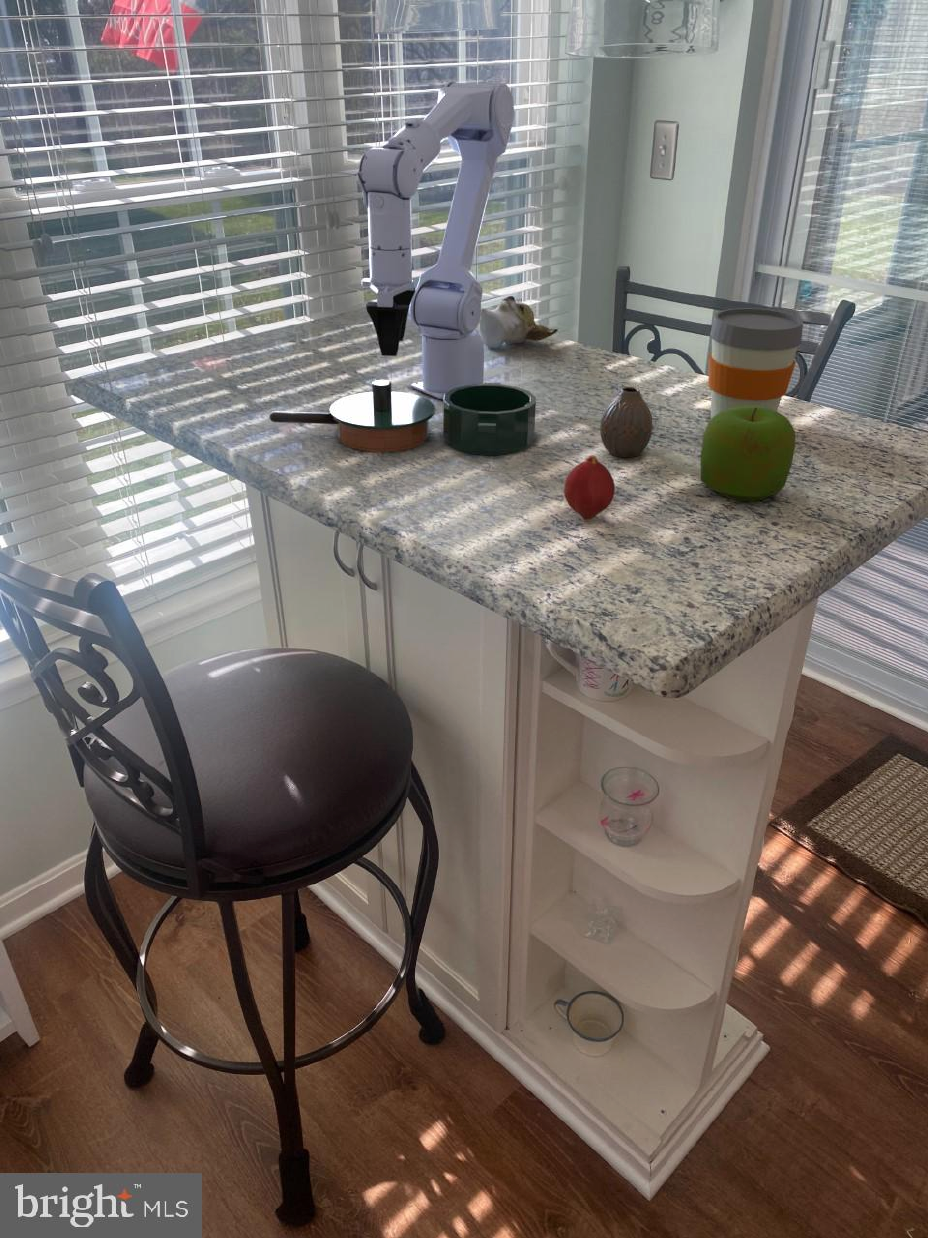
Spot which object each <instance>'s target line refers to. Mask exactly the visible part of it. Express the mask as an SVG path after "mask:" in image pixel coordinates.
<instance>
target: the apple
mask: <svg viewBox="0 0 928 1238" xmlns="http://www.w3.org/2000/svg"><path fill="white" fill-rule="evenodd" d="M795 450H796V430H795V428H794V427H793V425H792V423H791V422H790V421H789V419H788V418H787V417H786V416H785V415H783V414H782V413H781V412H779V411H777V412H776V411H774V410H772V409H769V408H764V407H759V406H741V407H735V408H730V409H727V410H724V411H721V412H720V413H718V414H717V415H715V416H714V417H713V418H712V419H711V418H710V420H709V421H708V423H707V425H706V427H705V430H704V432H703V433H702V441H701V448H700V481H701V482H702V483H703V484H704V485H705V486H706V487H708V489H711V490H713V491H714V492H716V493H718V494H719V495H721V496H724V497H726V498H728V499H730V500H731V499H732V500H735V501H739V502H757V501H761V500H765V499H767V498H769V497H771V496H772V495H775V494H777V493H779V492H781V490H782V489H783V488H784V487H785V486H786V483H787V480H788V477H789V473H790V471H791V468H792V463H793V460H794V454H795Z"/></svg>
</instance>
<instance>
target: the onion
mask: <svg viewBox="0 0 928 1238" xmlns="http://www.w3.org/2000/svg"><path fill="white" fill-rule="evenodd" d="M563 486H564V487H563V493H564V498H565V500H566V502H567V505H568V506H569V507H570V508H571V509H572V510H573V511H575V512H576V513H577V514H578V515H579V516H580V517H581V518H582V519H583V520H591V519H593V518H594V517H596V516H597V515H599V514H600V513H602V512H604V511H605V510H606V509H607V508H608V507H609V506H610V505H611V503H612V501H613V499H614V495H615V492H616V489H615V488H616V487H615V481H614V478H613V477H612V474H611V472H610V470H609V469H608V468H607V467H606V466H605V465H604V464H602V463H601V462H599V461H598V458H597V456H596V455H593V454H590V455H589V456H588V457H587V458H586V459H585V460H584V461H582V462H580V463H578V464H577V465H576V466H574V467H573V468H572V470H570V472H569V473H568V475H567V477H566V479H565V482H564V485H563Z"/></svg>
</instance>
